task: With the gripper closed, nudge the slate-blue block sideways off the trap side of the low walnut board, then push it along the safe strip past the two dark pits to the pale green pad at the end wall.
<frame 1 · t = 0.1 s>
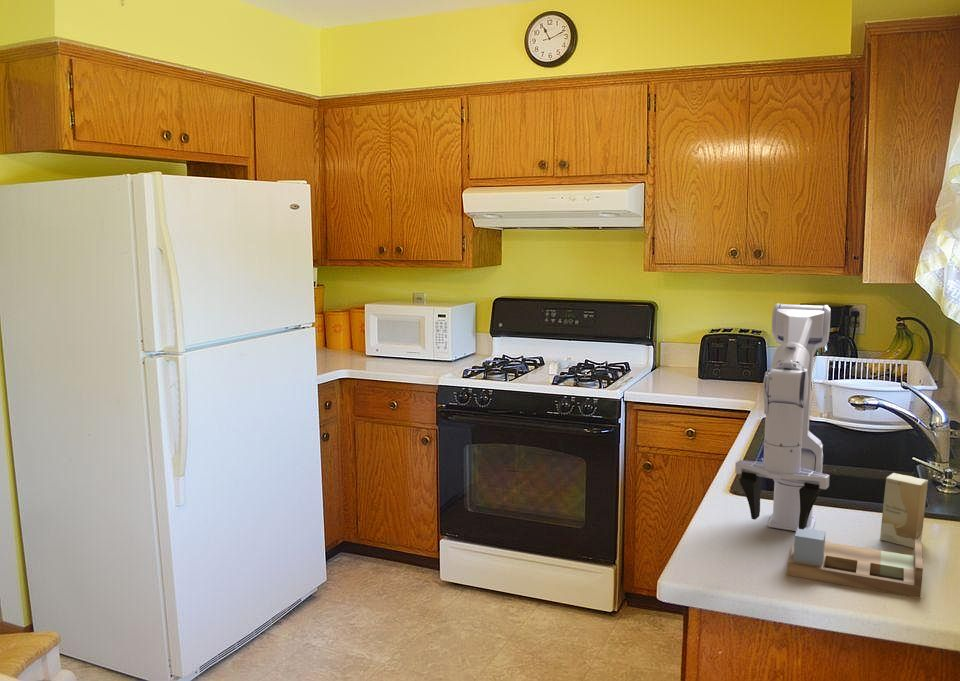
hand: (778, 522, 138), 10 cm above the countertop, tool pointing down, fingers open, 7 cm apart
skincare box: (901, 542, 155), on the countertop
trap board: (853, 571, 142), on the countertop
block: (808, 558, 143), point 2 cm above the countertop, touching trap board
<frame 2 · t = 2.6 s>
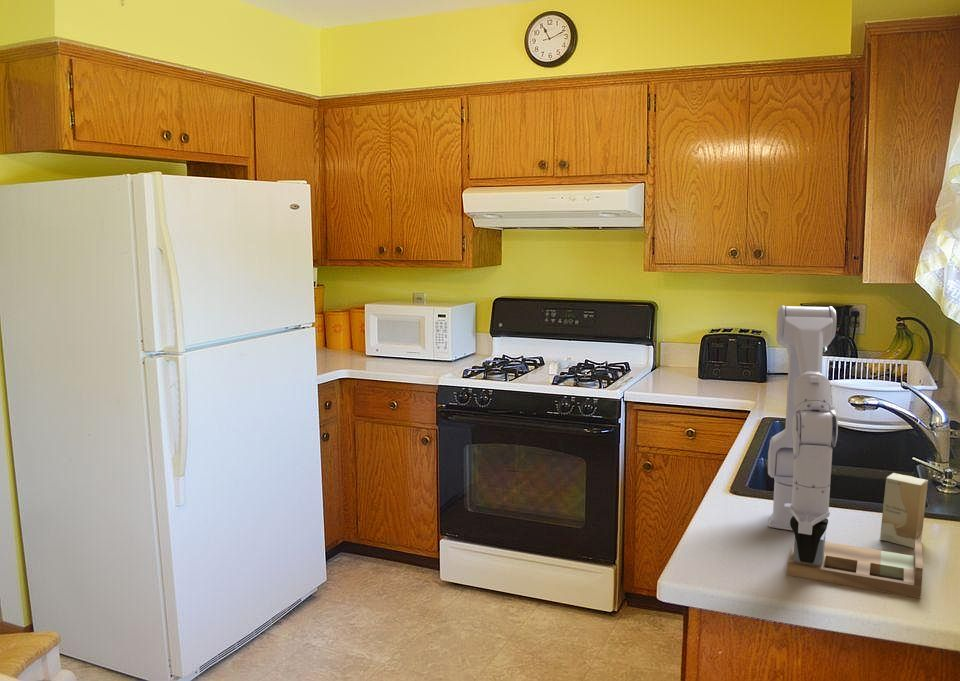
hand: (806, 561, 139), 3 cm above the countertop, tool pointing down, fingers closed
block: (808, 558, 143), point 2 cm above the countertop, touching gripper, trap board
everything else where it was.
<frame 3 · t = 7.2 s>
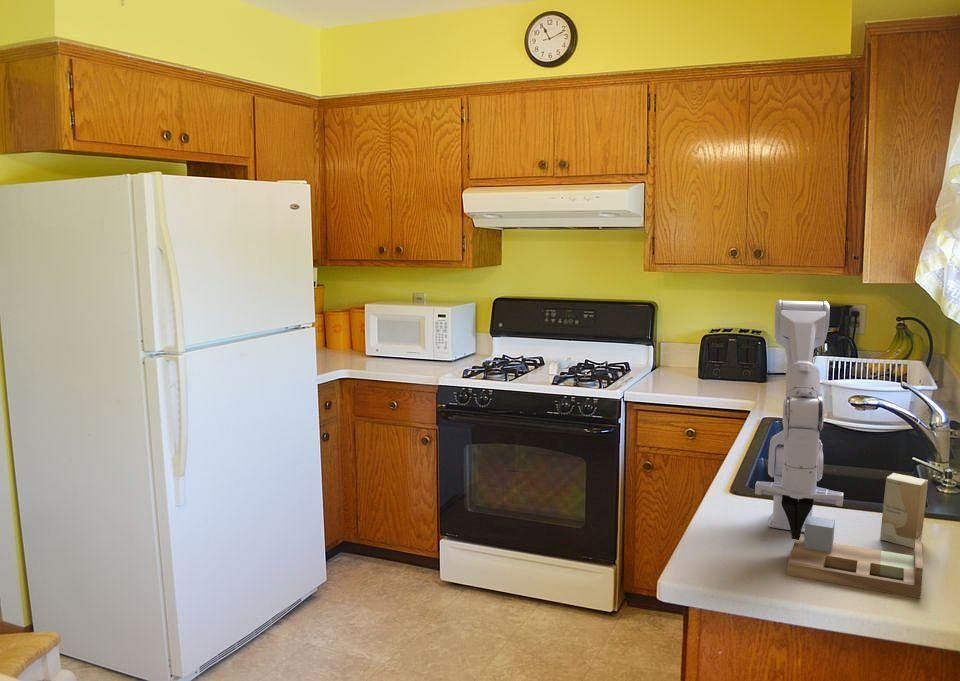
hand: (795, 537, 149), 3 cm above the countertop, tool pointing down, fingers closed
block: (818, 545, 148), point 2 cm above the countertop, touching gripper
everything else where it was.
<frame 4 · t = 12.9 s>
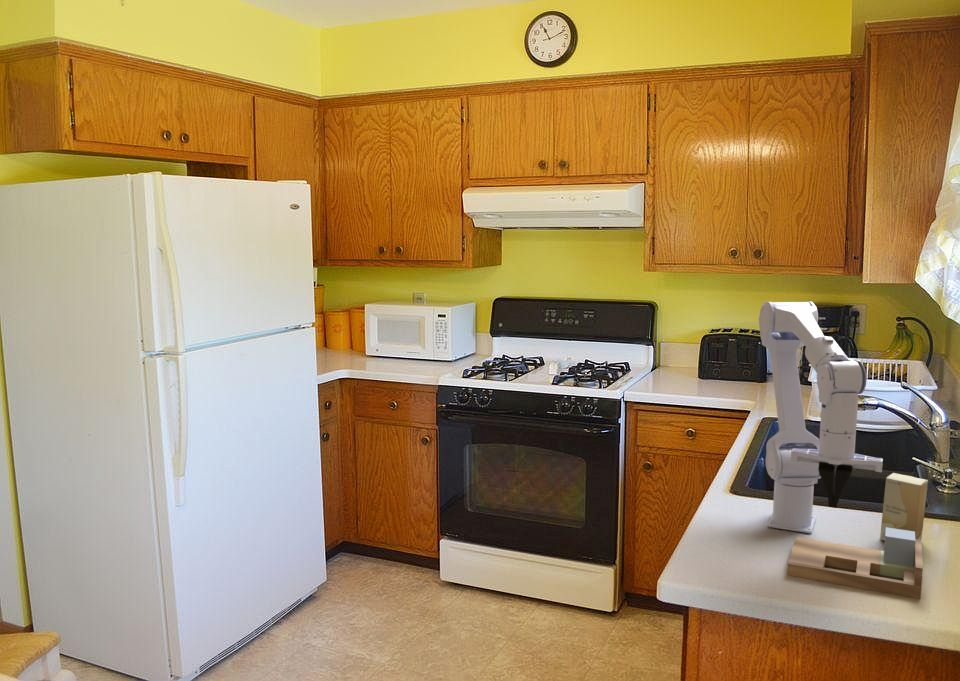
hand: (833, 505, 146), 10 cm above the countertop, tool pointing down, fingers closed
block: (898, 559, 142), point 2 cm above the countertop, touching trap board
everything else where it was.
at the end: block 0.5 cm from the target spot, point 2.0 cm above the countertop; block tilted 0° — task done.
